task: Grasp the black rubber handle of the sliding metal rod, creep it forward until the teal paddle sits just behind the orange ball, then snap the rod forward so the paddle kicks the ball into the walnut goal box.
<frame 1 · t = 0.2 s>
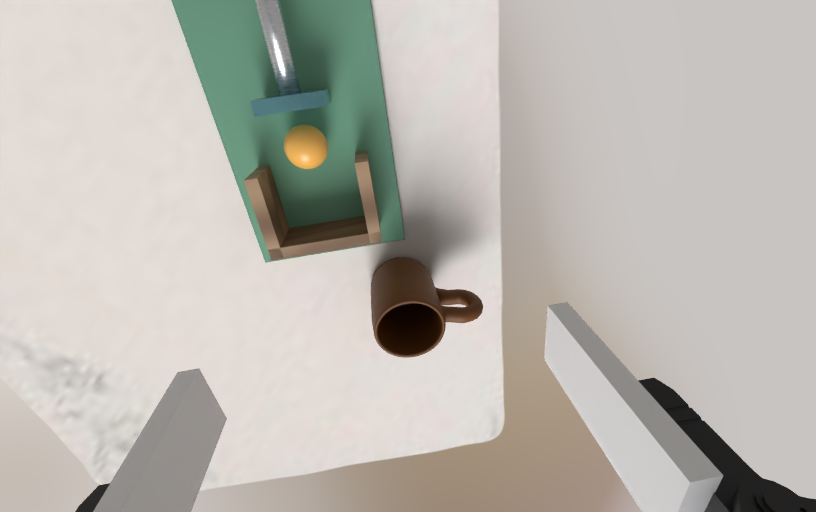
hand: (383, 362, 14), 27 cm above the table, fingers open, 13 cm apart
ball: (306, 147, 33), point 2 cm above the table, touching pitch
goal: (322, 196, 38), resting on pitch
mug: (418, 278, 45), on the table
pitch: (298, 99, 34), on the table
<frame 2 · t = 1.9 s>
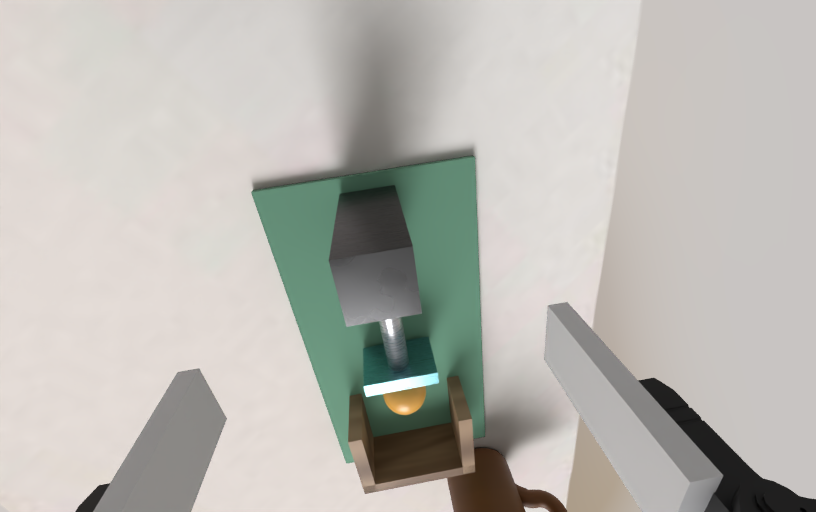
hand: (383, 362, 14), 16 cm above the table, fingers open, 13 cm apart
ball: (404, 391, 33), point 2 cm above the table, touching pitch
goal: (409, 412, 37), resting on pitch
mug: (492, 459, 45), on the table
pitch: (395, 340, 33), on the table
rod: (388, 318, 25), point 6 cm above the table, slide at 0.0 cm
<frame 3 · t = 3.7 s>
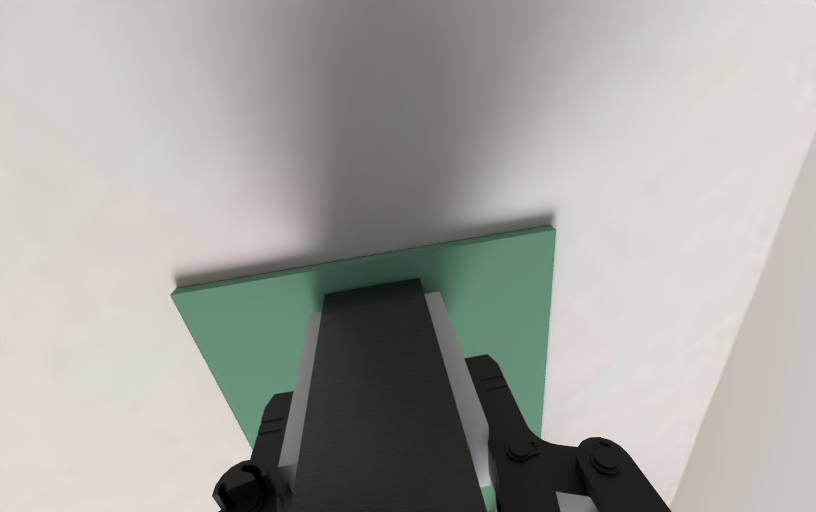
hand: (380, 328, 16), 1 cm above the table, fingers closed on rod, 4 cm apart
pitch: (413, 477, 23), on the table
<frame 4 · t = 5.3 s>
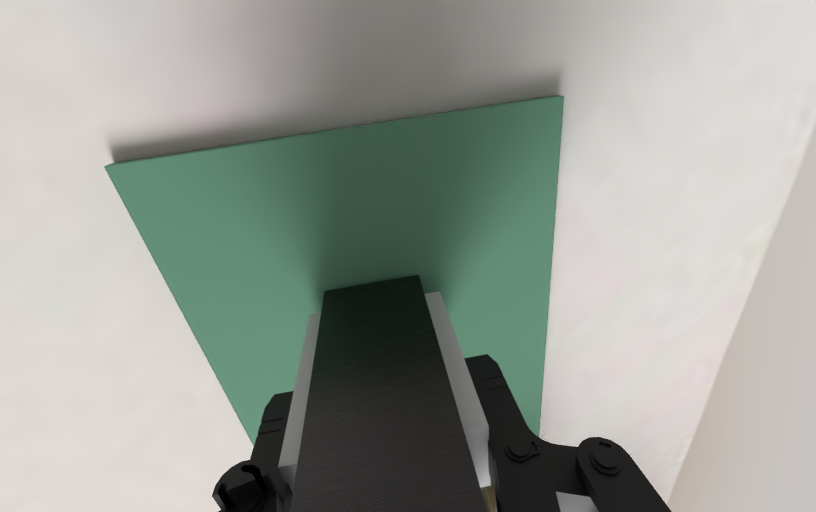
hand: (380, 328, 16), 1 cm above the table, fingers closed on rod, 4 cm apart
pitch: (401, 420, 20), on the table
rod: (409, 511, 14), point 6 cm above the table, slide at 5.1 cm, touching gripper
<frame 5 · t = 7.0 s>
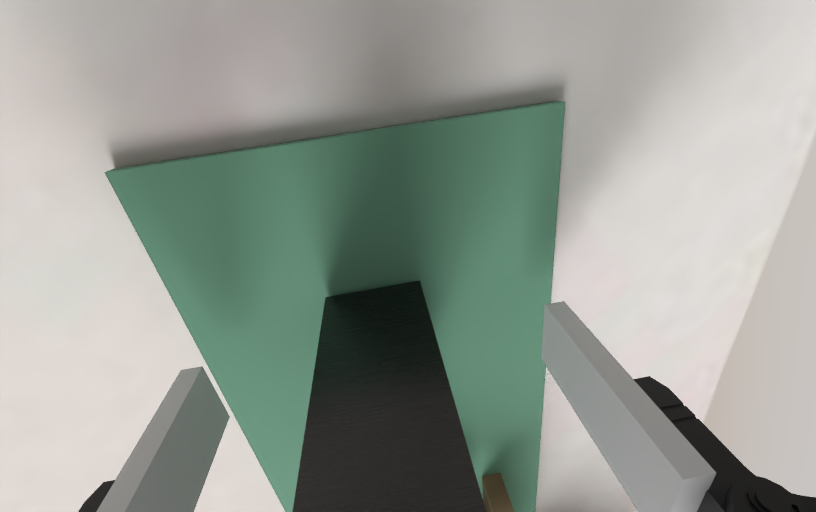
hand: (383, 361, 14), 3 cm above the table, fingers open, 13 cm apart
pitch: (402, 425, 20), on the table
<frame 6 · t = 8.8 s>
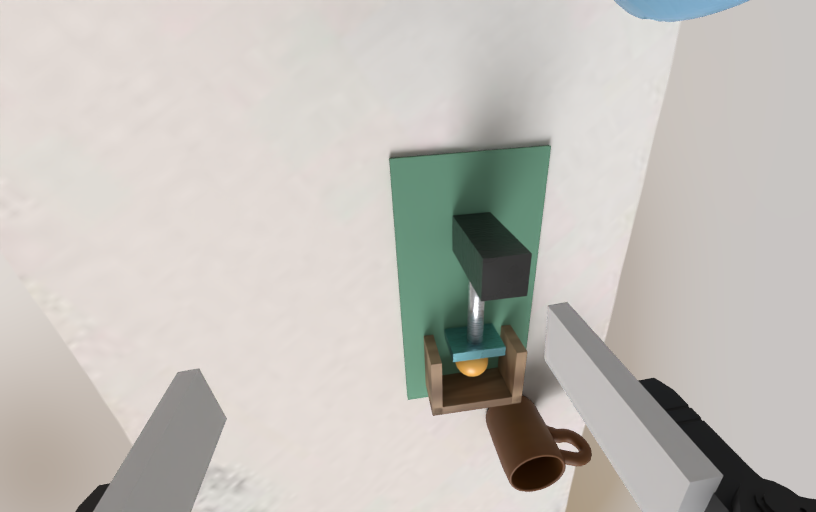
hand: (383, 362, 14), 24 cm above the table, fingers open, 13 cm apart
ball: (471, 359, 44), point 2 cm above the table, tilted 119°, touching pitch
goal: (466, 355, 46), resting on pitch
mug: (522, 408, 53), on the table
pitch: (467, 290, 42), on the table
rod: (483, 303, 36), point 6 cm above the table, slide at 5.2 cm
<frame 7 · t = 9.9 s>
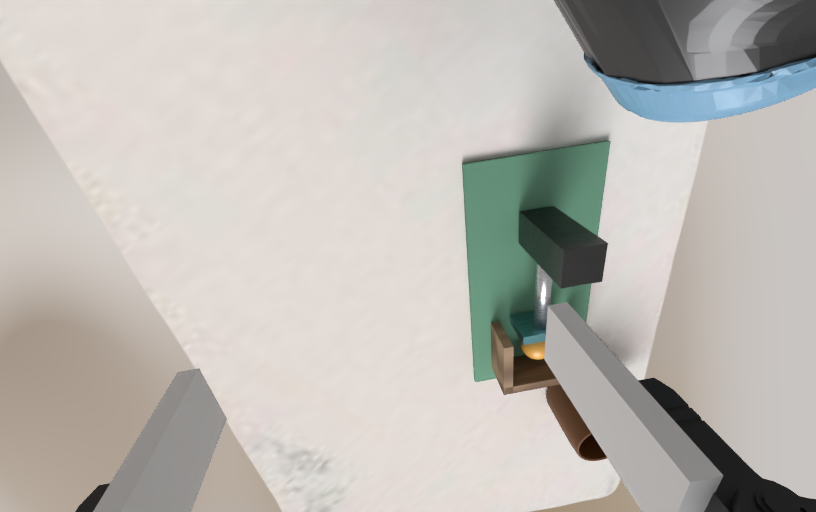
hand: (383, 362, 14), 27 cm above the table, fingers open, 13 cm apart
ball: (536, 343, 47), point 2 cm above the table, tilted 128°, touching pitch
goal: (529, 338, 50), resting on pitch
mug: (580, 385, 56), on the table
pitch: (530, 278, 46), on the table
rod: (553, 289, 39), point 6 cm above the table, slide at 5.2 cm
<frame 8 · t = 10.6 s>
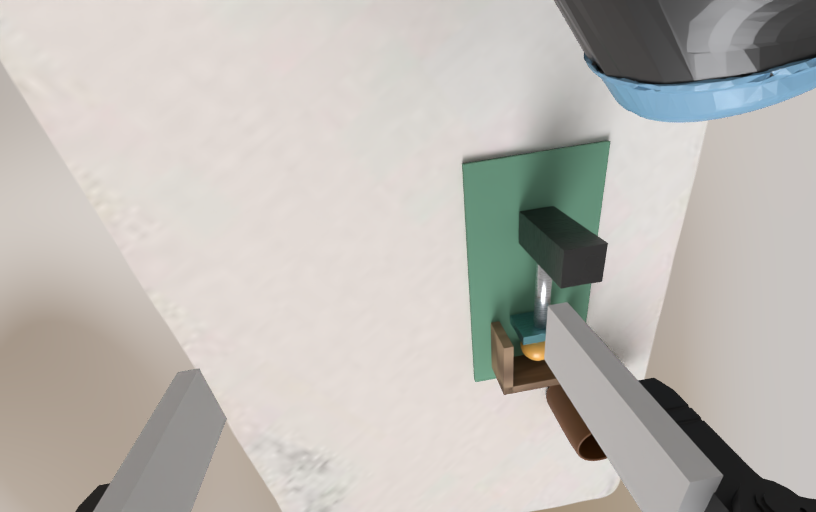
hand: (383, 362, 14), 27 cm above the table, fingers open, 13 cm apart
ball: (536, 345, 48), point 2 cm above the table, tilted 135°, touching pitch
goal: (529, 338, 50), resting on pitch
mug: (580, 385, 56), on the table
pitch: (530, 278, 46), on the table
rod: (553, 289, 39), point 6 cm above the table, slide at 5.2 cm
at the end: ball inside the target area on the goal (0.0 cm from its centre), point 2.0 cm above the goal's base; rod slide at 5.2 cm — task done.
